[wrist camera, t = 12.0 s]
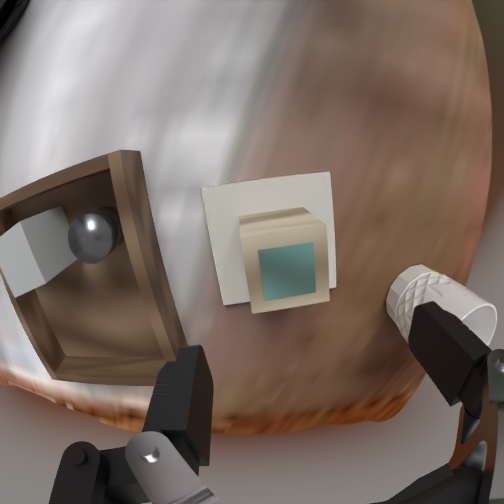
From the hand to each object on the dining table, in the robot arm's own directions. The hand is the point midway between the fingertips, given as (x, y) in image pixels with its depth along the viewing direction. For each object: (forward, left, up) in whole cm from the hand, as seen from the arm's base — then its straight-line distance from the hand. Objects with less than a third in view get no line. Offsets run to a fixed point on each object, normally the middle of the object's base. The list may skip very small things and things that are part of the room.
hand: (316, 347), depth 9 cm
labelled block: (0, 0, -13) cm, 13 cm away
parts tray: (+1, -18, -14) cm, 23 cm away
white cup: (+8, +14, -14) cm, 22 cm away
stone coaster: (0, 0, -14) cm, 14 cm away
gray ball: (-3, -13, -13) cm, 19 cm away
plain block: (-3, -20, -13) cm, 24 cm away
